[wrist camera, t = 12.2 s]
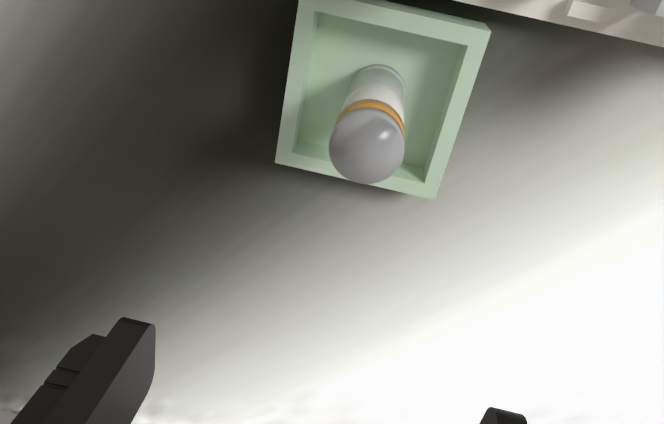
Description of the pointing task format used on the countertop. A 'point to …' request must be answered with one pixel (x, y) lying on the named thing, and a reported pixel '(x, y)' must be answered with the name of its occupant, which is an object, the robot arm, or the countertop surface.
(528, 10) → the holder
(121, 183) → the countertop surface
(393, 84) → the fuse marked
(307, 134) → the tray
